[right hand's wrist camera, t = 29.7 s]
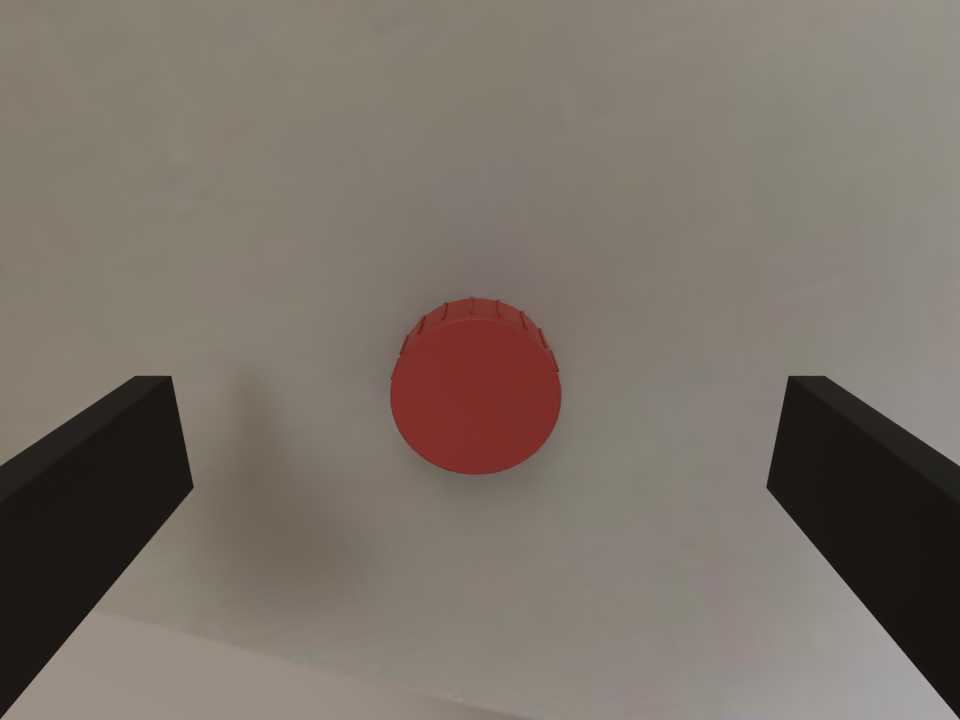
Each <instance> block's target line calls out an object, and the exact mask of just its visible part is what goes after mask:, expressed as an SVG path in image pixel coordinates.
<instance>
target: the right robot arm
mask: <svg viewBox="0 0 960 720" xmlns="http://www.w3.org/2000/svg"><path fill="white" fill-rule="evenodd" d="M193 488H194V486H193V481H192V476H191V472H190V467H189V462H188V457H187V452H186V447H185V442H184V437H183V432H182V427H181V422H180V417H179V412H178V407H177V402H176V397H175V392H174V387H173V382H172V377H171V376H134V377H133V378H131V379H130V380H128V381H127V382H125V383H124V384H122V385H121V386H119V387H118V388H116V389H115V390H113V391H112V392H110V393H109V394H108V395H106V396H105V397H103V398H102V399H100V400H99V401H97V402H96V403H94V404H93V405H91V406H90V407H88V408H87V409H85V410H84V411H82V412H81V413H79V414H78V415H76V416H75V417H73V418H72V419H70V420H69V421H67V422H66V423H64V424H63V425H61V426H60V427H58V428H57V429H55V430H54V431H52V432H51V433H49V434H48V435H46V436H45V437H43V438H42V439H40V440H39V441H37V442H36V443H34V444H33V445H31V446H30V447H28V448H27V449H25V450H24V451H22V452H21V453H19V454H18V455H16V456H15V457H13V458H12V459H10V460H9V461H7V462H6V463H4V464H3V465H1V466H0V719H1V718H2V716H3V715H4V714H5V713H6V712H7V710H8V709H9V708H10V707H11V706H12V704H13V703H14V702H15V701H16V700H17V699H18V697H19V696H20V695H21V694H22V693H23V691H24V690H25V689H26V688H27V687H28V685H29V684H30V683H31V682H32V681H33V679H34V678H35V677H36V676H37V675H38V673H39V672H40V671H41V670H42V669H43V667H44V666H45V665H46V664H47V663H48V661H49V660H50V659H51V658H52V657H53V655H54V654H55V653H56V652H57V651H58V649H59V648H60V647H61V646H62V645H63V643H64V642H65V641H66V640H67V639H68V637H69V636H70V635H71V634H72V633H73V632H74V630H75V629H76V628H77V627H78V626H79V624H80V623H81V622H82V621H83V620H84V618H85V617H86V616H87V615H88V614H89V612H90V611H91V610H92V609H93V608H94V606H95V605H96V604H97V603H98V602H99V600H100V599H101V598H102V597H103V596H104V594H105V593H106V592H107V591H108V590H109V588H110V587H111V586H112V585H113V584H114V582H115V581H116V580H117V579H118V578H119V576H120V575H121V574H122V573H123V572H124V570H125V569H126V568H127V567H128V566H129V564H130V563H131V562H132V561H133V560H134V559H135V557H136V556H137V555H138V554H139V553H140V551H141V550H142V549H143V548H144V547H145V545H146V544H147V543H148V542H149V541H150V539H151V538H152V537H153V536H154V535H155V533H156V532H157V531H158V530H159V529H160V527H161V526H162V525H163V524H164V523H165V521H166V520H167V519H168V518H169V517H170V515H171V514H172V513H173V512H174V511H175V509H176V508H177V507H178V506H179V505H180V503H181V502H182V501H183V500H184V499H185V497H186V496H187V495H188V494H189V493H190V491H191V490H192V489H193ZM766 488H767V489H768V490H769V491H770V493H771V494H772V495H773V496H774V497H775V499H776V500H777V501H778V502H779V503H780V505H781V506H782V507H783V508H784V509H785V511H786V512H787V513H788V514H789V515H790V517H791V518H792V519H793V520H794V521H795V523H796V524H797V525H798V526H799V527H800V529H801V530H802V531H803V532H804V533H805V535H806V536H807V537H808V538H809V539H810V541H811V542H812V543H813V544H814V545H815V547H816V548H817V549H818V550H819V551H820V553H821V554H822V555H823V556H824V557H825V559H826V560H827V561H828V562H829V563H830V564H831V566H832V567H833V568H834V569H835V570H836V572H837V573H838V574H839V575H840V576H841V578H842V579H843V580H844V581H845V582H846V584H847V585H848V586H849V587H850V588H851V590H852V591H853V592H854V593H855V594H856V596H857V597H858V598H859V599H860V600H861V602H862V603H863V604H864V605H865V606H866V608H867V609H868V610H869V611H870V612H871V614H872V615H873V616H874V617H875V618H876V620H877V621H878V622H879V623H880V624H881V626H882V627H883V628H884V629H885V630H886V632H887V633H888V634H889V635H890V636H891V637H892V639H893V640H894V641H895V642H896V643H897V645H898V646H899V647H900V648H901V649H902V651H903V652H904V653H905V654H906V655H907V657H908V658H909V659H910V660H911V661H912V663H913V664H914V665H915V666H916V667H917V669H918V670H919V671H920V672H921V673H922V675H923V676H924V677H925V678H926V679H927V681H928V682H929V683H930V684H931V685H932V687H933V688H934V689H935V690H936V691H937V693H938V694H939V695H940V696H941V697H942V699H943V700H944V701H945V702H946V703H947V705H948V706H949V707H950V708H951V709H952V710H953V712H954V713H955V714H956V715H957V716H958V718H959V719H960V466H959V465H957V464H956V463H954V462H953V461H951V460H950V459H948V458H947V457H945V456H944V455H942V454H941V453H939V452H938V451H936V450H935V449H933V448H932V447H930V446H929V445H927V444H926V443H924V442H923V441H921V440H920V439H918V438H917V437H915V436H914V435H912V434H911V433H909V432H908V431H906V430H905V429H903V428H902V427H900V426H899V425H897V424H896V423H894V422H893V421H891V420H890V419H888V418H887V417H885V416H884V415H882V414H881V413H879V412H878V411H876V410H875V409H873V408H872V407H870V406H869V405H867V404H866V403H864V402H863V401H861V400H860V399H858V398H857V397H855V396H854V395H852V394H851V393H850V392H848V391H847V390H845V389H844V388H842V387H841V386H839V385H838V384H836V383H835V382H833V381H832V380H830V379H829V378H827V377H826V376H789V377H788V382H787V387H786V392H785V397H784V402H783V407H782V412H781V417H780V422H779V427H778V432H777V437H776V442H775V447H774V452H773V457H772V462H771V467H770V472H769V476H768V481H767V486H766Z"/></svg>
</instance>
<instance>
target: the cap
mask: <svg viewBox="0 0 960 720" xmlns="http://www.w3.org/2000/svg"><path fill="white" fill-rule="evenodd" d="M399 355H401V356H400V358H398V361H397V363H396V366H395V369H394V371H393V374H392V377H391V380H392V383H391V392H390V397H391V408H392V414H393V417H394V420H395V423H396V425H397V427H398V429H399V431H400V433H401V435H402V436H403V438H404V439H405V441H406V442H407V443H408V444H409V445H410V446H411V448H412V449H413V450H414V451H416V452H417V453H418V454H419V455H420V456H421V457H423V458H424V459H426V460H427V461H429V462H431V463H432V464H434V465H436V466H438V467H441V468H443V469H446V470H449V471H453V472H457V473H463V474H489V473H494V472H499V471H502V470H505V469H508V468H511V467H513V466H515V465H517V464H519V463H521V462H523V461H524V460H526V459H527V458H529V457H530V456H531V455H532V454H534V453H535V452H536V451H537V450H538V449H539V448H540V447H541V446H542V445H543V444H544V442H545V441H546V440H547V438H548V437H549V436H550V434H551V432H552V430H553V428H554V426H555V424H556V421H557V418H558V415H559V410H560V404H561V388H560V382H559V377H558V374H557V372H559V370H558V367H557V364H556V361H555V359H554V356H553V353H552V350H551V351H549V349H548V346H547V343H546V341H545V338H544V335H543V332H542V330H541V329H538V328H537V327H536V325H535V324H534V323H533V322H532V321H531V320H530V319H529V318H527V317H526V316H525V315H524V312H523V311H521V312H520V311H518V310H516V309H514V308H513V307H511V306H508V305H506V304H504V303H501V302H500V300H497V301H494V300H487V299H473V297H470V299H464V300H459V301H455V302H451V303H448V304H447V302H446V303H444V305H443V306H441V307H439V308H437V309H435V310H434V311H432V312H431V313H429V314H428V315H427V316H422V318H421V321H420V322H419V323H418V324H417V325H416V327H415V328H414V329H413V330H412V332H411V333H410V335H407V336H406V338H405V341H404V343H403V346H402V349H401V351H400V354H399Z"/></svg>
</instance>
